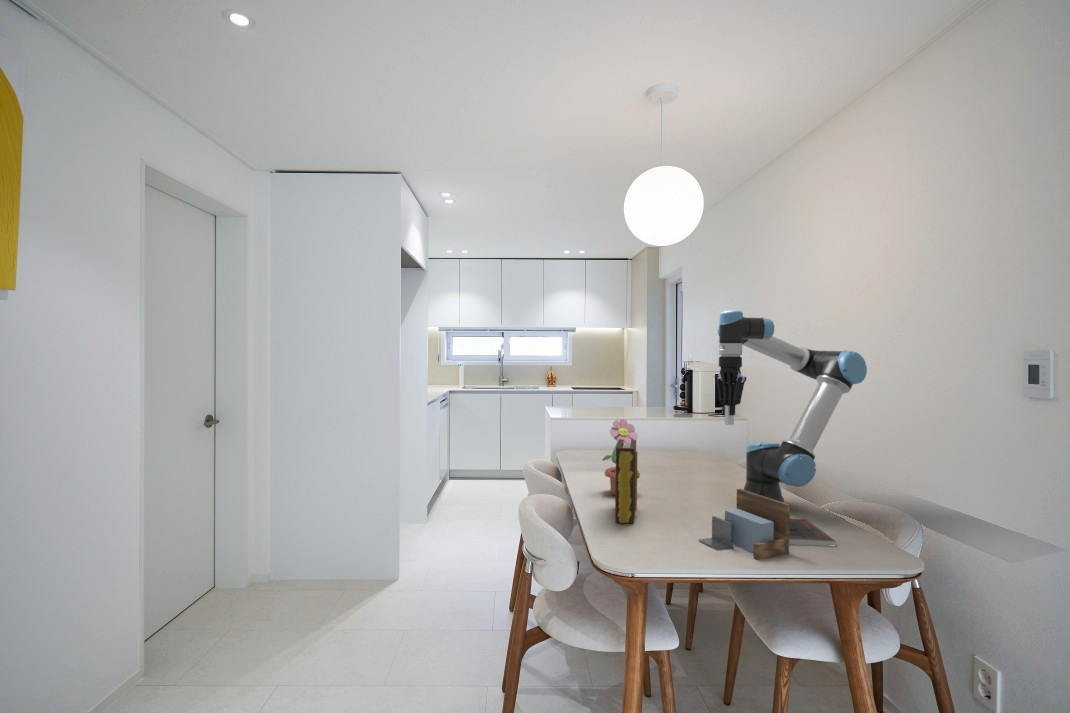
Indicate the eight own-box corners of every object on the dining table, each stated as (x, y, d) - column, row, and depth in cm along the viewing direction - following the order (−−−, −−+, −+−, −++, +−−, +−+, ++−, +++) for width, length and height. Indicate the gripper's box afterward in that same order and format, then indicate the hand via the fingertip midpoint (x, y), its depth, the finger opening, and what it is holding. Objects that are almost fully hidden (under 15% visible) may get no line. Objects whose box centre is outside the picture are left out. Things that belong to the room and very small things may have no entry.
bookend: (714, 538, 167) (714, 515, 167) (733, 547, 160) (733, 523, 160) (698, 541, 165) (699, 518, 165) (717, 550, 158) (717, 526, 158)
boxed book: (736, 537, 169) (737, 508, 169) (773, 553, 156) (773, 522, 156) (724, 539, 167) (724, 510, 167) (759, 555, 154) (760, 524, 154)
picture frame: (755, 523, 185) (778, 546, 164) (756, 516, 185) (778, 537, 164) (806, 525, 184) (835, 548, 162) (806, 518, 184) (835, 540, 162)
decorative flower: (609, 500, 210) (610, 422, 210) (597, 491, 223) (598, 417, 223) (645, 498, 213) (646, 421, 213) (631, 489, 227) (632, 417, 227)
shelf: (739, 532, 173) (740, 488, 173) (788, 553, 156) (789, 504, 156) (709, 537, 168) (709, 492, 168) (756, 559, 151) (757, 508, 151)
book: (637, 525, 179) (638, 449, 179) (611, 523, 181) (612, 448, 181) (638, 506, 201) (639, 438, 201) (615, 505, 203) (616, 437, 203)
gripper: (708, 355, 193) (707, 422, 193) (735, 356, 181) (734, 427, 181) (725, 355, 196) (724, 421, 196) (753, 356, 184) (751, 426, 184)
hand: (729, 424), depth 188 cm, fingers closed
